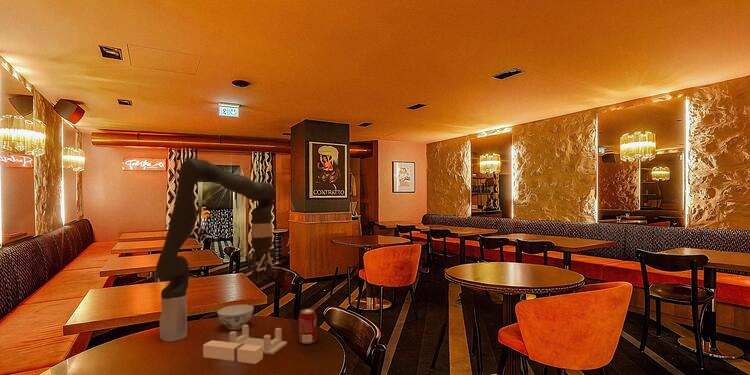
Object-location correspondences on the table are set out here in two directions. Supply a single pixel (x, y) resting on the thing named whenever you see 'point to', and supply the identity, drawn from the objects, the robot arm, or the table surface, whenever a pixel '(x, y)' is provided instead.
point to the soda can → (307, 326)
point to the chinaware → (235, 316)
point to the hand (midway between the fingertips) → (262, 278)
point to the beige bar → (233, 351)
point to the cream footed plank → (260, 340)
